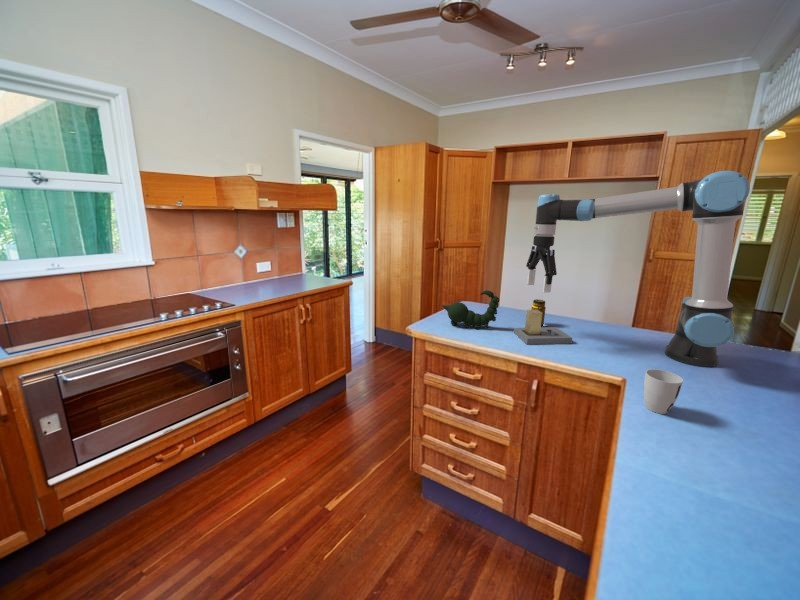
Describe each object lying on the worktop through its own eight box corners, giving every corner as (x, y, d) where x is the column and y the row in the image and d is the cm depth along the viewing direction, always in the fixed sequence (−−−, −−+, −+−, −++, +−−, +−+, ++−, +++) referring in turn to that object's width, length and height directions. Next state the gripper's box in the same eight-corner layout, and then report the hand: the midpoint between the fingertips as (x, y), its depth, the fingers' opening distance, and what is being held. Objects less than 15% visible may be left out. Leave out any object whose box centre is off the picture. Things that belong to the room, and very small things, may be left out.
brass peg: (538, 340, 145) (542, 312, 142) (528, 340, 144) (531, 313, 141) (533, 336, 149) (537, 309, 146) (523, 336, 149) (526, 309, 145)
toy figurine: (493, 329, 162) (440, 319, 168) (500, 290, 157) (446, 281, 163) (493, 335, 154) (437, 325, 159) (501, 295, 148) (443, 285, 154)
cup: (676, 420, 90) (685, 386, 88) (639, 411, 94) (646, 377, 92) (673, 406, 97) (680, 373, 94) (638, 398, 101) (644, 366, 98)
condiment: (526, 323, 167) (528, 298, 164) (542, 322, 168) (545, 298, 165) (534, 328, 160) (537, 302, 157) (551, 327, 161) (554, 302, 158)
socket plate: (571, 343, 142) (572, 337, 141) (526, 344, 140) (527, 338, 139) (554, 332, 154) (555, 327, 153) (513, 333, 152) (514, 327, 152)
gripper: (521, 233, 147) (516, 282, 153) (551, 238, 123) (544, 295, 129) (538, 233, 148) (532, 282, 153) (571, 238, 124) (563, 295, 129)
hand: (538, 288), depth 141 cm, fingers open, 13 cm apart
